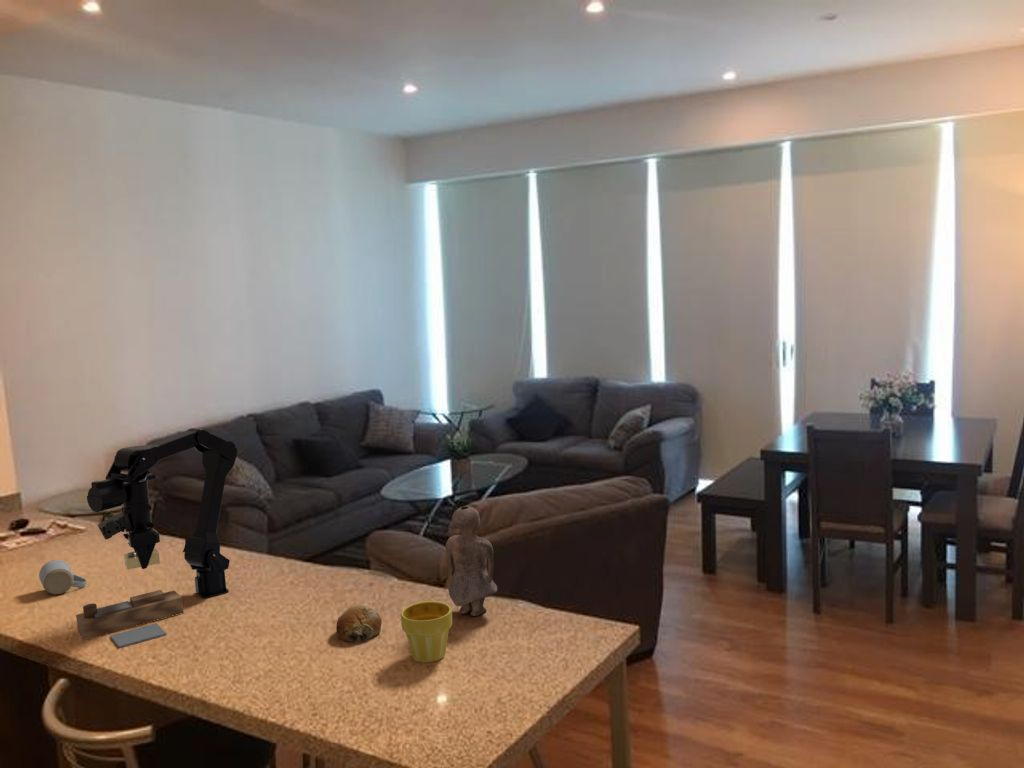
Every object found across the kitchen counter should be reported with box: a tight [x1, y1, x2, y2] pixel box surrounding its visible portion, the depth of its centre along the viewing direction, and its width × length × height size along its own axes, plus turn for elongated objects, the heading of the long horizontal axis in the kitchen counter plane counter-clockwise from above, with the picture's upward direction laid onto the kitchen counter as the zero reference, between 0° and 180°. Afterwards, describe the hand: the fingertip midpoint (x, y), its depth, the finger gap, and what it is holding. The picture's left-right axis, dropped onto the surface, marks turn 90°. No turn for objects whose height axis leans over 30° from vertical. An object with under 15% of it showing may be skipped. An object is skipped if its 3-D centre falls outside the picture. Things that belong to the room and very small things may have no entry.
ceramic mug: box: [38, 559, 88, 595], centre depth 227 cm, size 11×8×8 cm
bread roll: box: [335, 604, 382, 643], centre depth 190 cm, size 10×10×8 cm
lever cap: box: [123, 547, 161, 570], centre depth 202 cm, size 7×5×3 cm, turn 121°
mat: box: [110, 622, 167, 649], centre depth 194 cm, size 10×8×1 cm
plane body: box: [75, 589, 184, 640], centre depth 202 cm, size 22×6×6 cm, turn 127°
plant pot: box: [400, 600, 453, 664], centre depth 176 cm, size 10×10×10 cm
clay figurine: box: [445, 505, 498, 617], centre depth 197 cm, size 13×10×25 cm
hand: (142, 565), depth 203 cm, fingers closed on lever cap, 5 cm apart
